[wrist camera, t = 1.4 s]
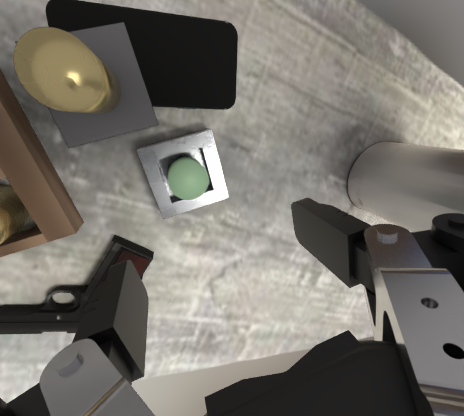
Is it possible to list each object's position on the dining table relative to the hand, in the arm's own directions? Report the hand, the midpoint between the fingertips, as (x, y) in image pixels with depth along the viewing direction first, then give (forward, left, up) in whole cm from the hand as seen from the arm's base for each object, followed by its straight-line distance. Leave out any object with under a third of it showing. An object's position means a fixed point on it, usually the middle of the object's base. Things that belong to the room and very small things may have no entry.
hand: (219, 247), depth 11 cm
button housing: (0, 0, -16) cm, 16 cm away
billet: (+5, -9, -16) cm, 19 cm away
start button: (0, 0, -14) cm, 14 cm away
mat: (+5, -9, -16) cm, 19 cm away
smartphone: (0, -10, -16) cm, 19 cm away
